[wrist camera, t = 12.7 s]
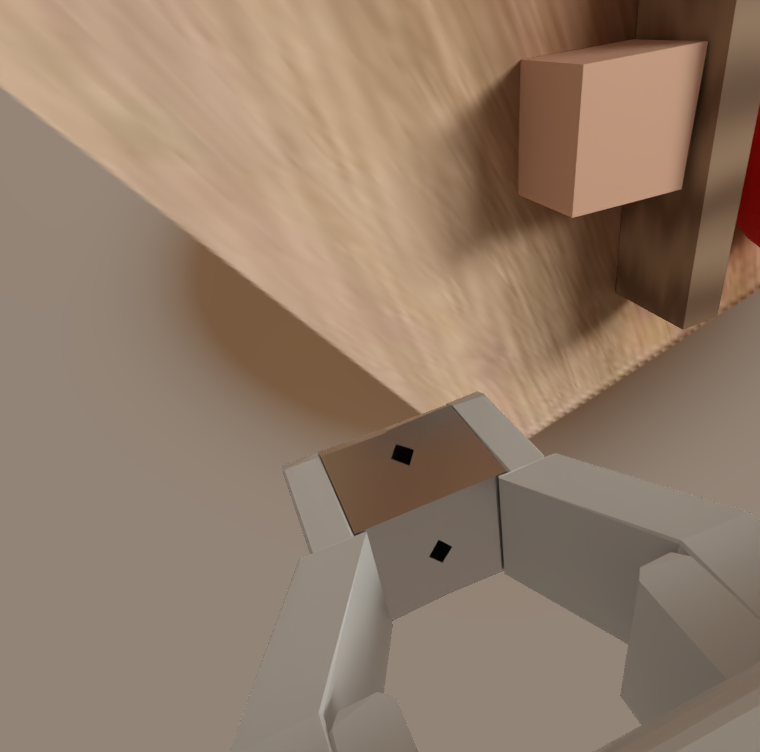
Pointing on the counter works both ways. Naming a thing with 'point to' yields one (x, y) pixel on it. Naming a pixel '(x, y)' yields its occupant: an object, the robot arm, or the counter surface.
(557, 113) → the terracotta block
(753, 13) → the walnut board
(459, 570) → the robot arm
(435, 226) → the counter surface
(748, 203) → the tomato
